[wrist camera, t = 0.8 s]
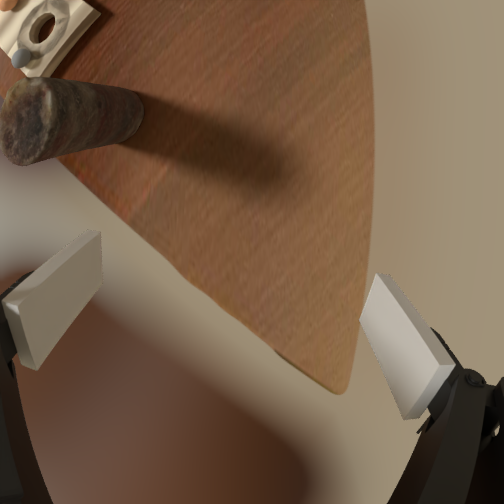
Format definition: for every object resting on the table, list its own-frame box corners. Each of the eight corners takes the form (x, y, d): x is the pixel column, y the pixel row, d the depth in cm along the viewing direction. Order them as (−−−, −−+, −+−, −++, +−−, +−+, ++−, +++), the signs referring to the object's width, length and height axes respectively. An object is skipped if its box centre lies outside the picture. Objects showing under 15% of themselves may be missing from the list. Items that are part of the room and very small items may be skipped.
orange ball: (9, -2, 23) (-3, -7, 20) (24, -9, 23) (11, -14, 20) (4, 15, 25) (-9, 12, 21) (19, 9, 25) (6, 5, 21)
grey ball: (21, 52, 28) (9, 50, 25) (35, 47, 28) (23, 44, 25) (18, 71, 29) (6, 69, 26) (33, 67, 29) (20, 65, 26)
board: (-11, 27, 26) (-19, 25, 24) (35, -33, 23) (28, -37, 21) (44, 85, 32) (34, 84, 30) (101, 13, 29) (93, 8, 27)
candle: (122, 155, 37) (27, 184, 19) (84, 126, 35) (-21, 139, 17) (156, 107, 35) (72, 93, 16) (115, 79, 33) (17, 55, 15)
